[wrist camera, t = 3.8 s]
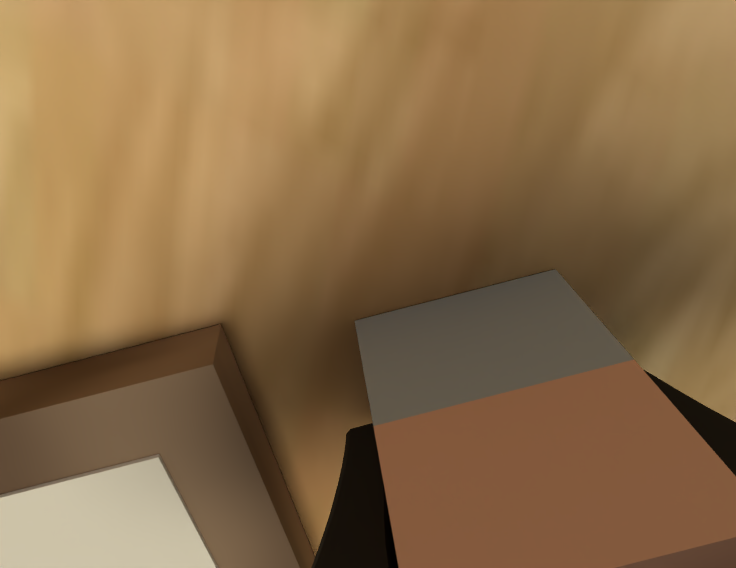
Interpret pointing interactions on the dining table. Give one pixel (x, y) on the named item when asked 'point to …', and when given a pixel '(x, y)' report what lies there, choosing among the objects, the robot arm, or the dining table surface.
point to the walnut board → (143, 465)
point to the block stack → (535, 440)
